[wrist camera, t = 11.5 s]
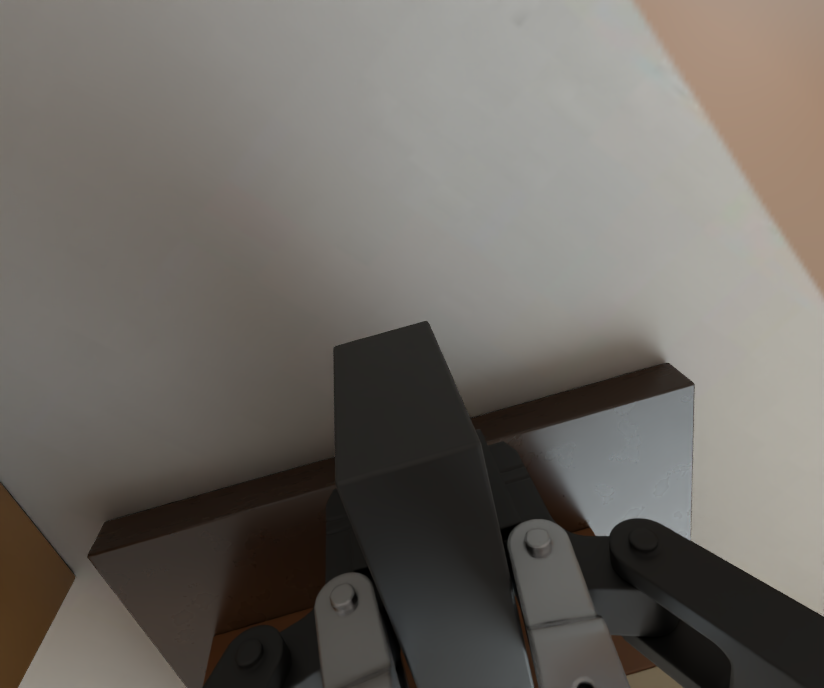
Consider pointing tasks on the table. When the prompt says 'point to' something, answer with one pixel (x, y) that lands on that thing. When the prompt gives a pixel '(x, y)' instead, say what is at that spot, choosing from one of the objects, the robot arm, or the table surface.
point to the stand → (25, 590)
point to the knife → (425, 511)
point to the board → (313, 484)
